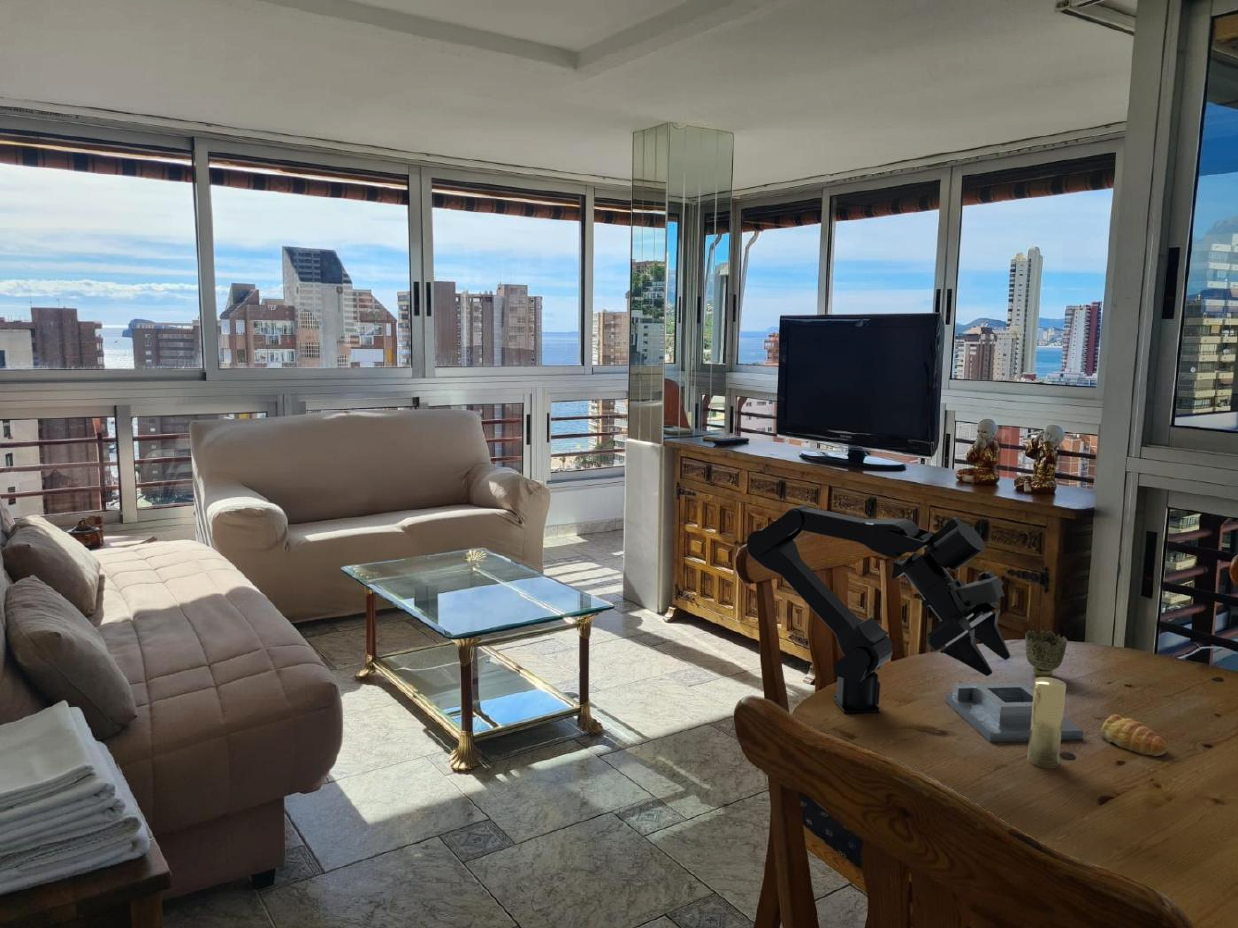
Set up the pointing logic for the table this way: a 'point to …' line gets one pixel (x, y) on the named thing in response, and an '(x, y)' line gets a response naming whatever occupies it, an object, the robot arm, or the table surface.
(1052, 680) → the sleeve
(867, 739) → the table surface
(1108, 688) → the table surface
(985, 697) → the jig
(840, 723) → the table surface
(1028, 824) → the table surface
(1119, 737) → the pastry
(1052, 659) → the cup
